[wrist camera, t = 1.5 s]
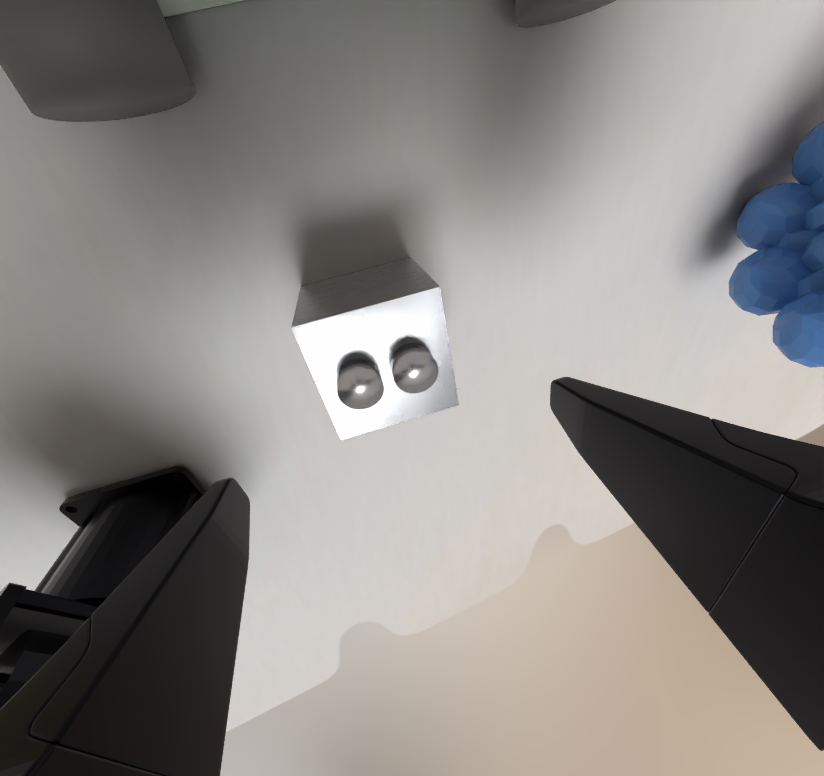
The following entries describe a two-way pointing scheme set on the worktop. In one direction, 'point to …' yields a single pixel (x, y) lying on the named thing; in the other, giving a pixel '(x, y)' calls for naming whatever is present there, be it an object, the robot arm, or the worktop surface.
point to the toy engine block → (376, 346)
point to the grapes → (788, 256)
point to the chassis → (131, 53)
